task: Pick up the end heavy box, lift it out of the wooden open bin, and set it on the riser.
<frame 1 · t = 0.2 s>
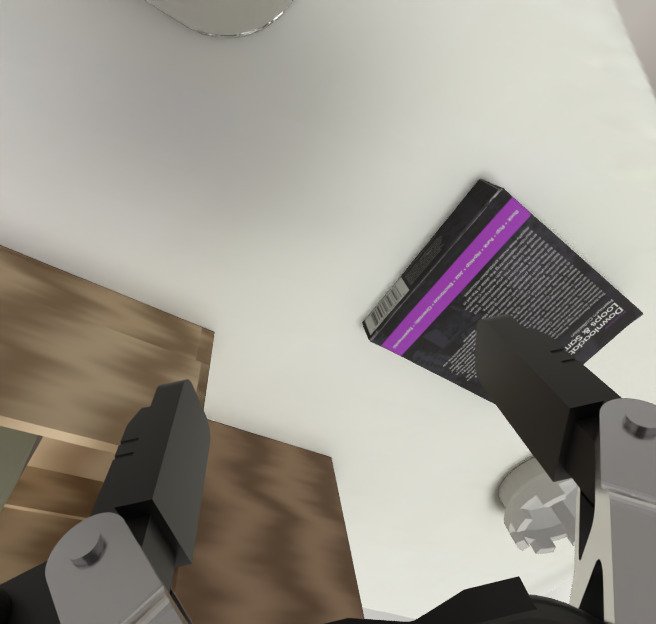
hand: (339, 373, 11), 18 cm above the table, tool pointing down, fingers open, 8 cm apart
flag stand: (539, 479, 49), on the table
wooden open bin: (30, 379, 30), on the table
riser: (236, 483, 40), on the table
box: (492, 306, 34), on the table
end heavy box: (27, 384, 29), resting on wooden open bin
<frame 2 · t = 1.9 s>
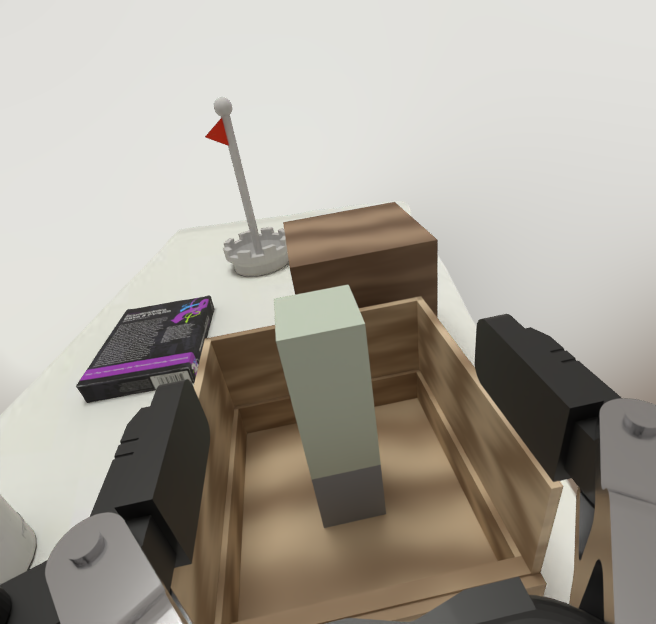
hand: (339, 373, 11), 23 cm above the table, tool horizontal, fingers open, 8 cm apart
flag stand: (262, 265, 80), on the table
wooden open bin: (349, 496, 33), on the table
riser: (364, 348, 50), on the table
box: (161, 352, 58), on the table
end heavy box: (349, 492, 33), resting on wooden open bin
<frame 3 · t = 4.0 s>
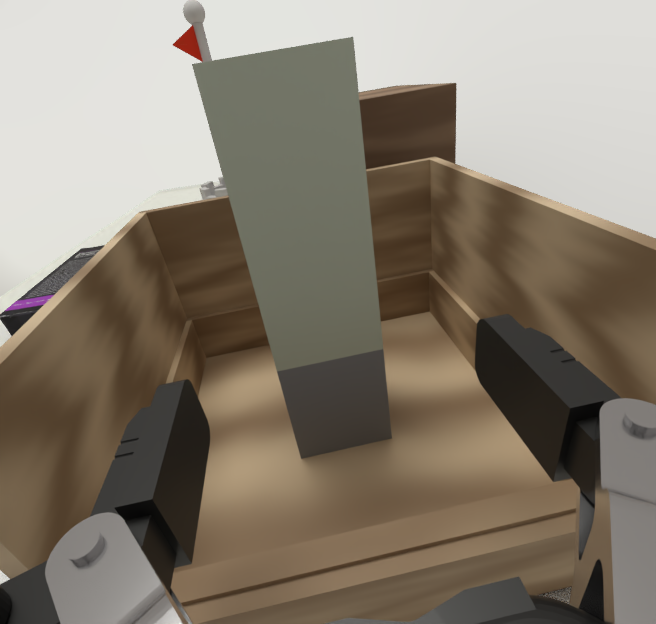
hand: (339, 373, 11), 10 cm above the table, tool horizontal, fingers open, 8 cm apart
flag stand: (245, 211, 70), on the table
wooden open bin: (340, 421, 23), on the table
riser: (360, 271, 41), on the table
box: (117, 290, 48), on the table
end heavy box: (338, 415, 23), resting on wooden open bin
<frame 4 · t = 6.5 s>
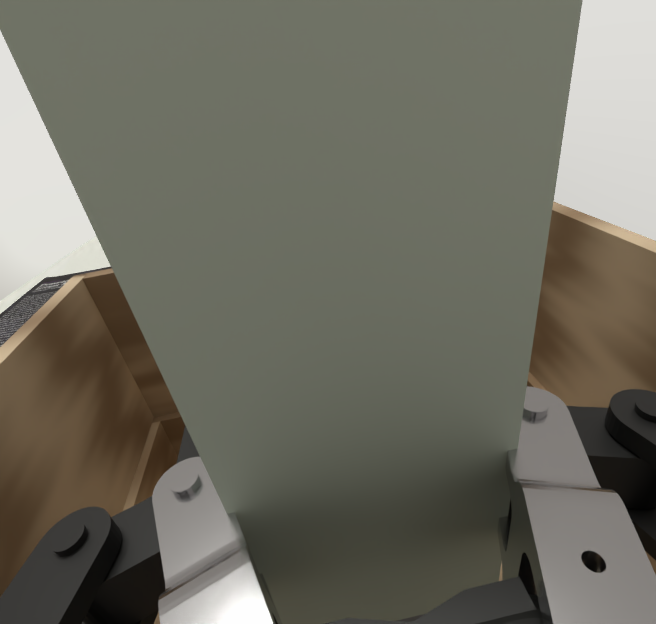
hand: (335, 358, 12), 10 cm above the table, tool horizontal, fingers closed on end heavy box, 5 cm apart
wooden open bin: (385, 622, 15), on the table
box: (83, 334, 40), on the table
end heavy box: (384, 615, 14), resting on wooden open bin, touching gripper
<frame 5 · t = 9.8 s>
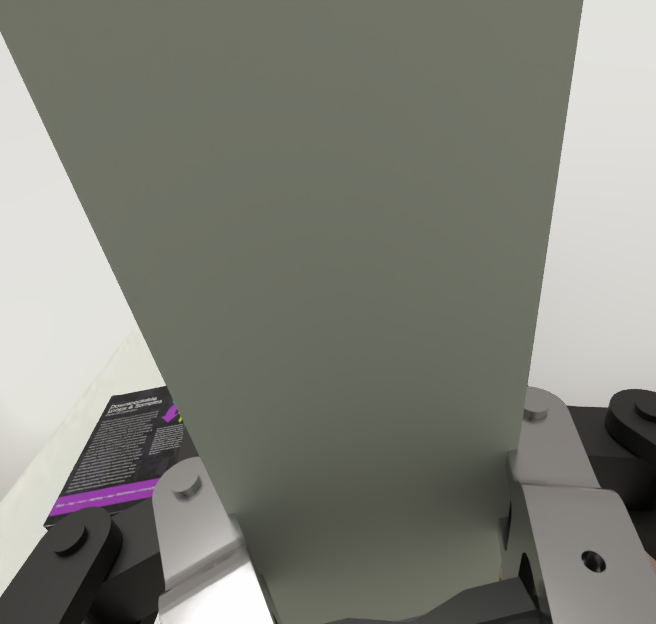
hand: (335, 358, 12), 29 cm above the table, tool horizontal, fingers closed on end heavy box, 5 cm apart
box: (151, 456, 49), on the table
end heavy box: (384, 616, 14), point 19 cm above the table, touching gripper
when the fingers open (27 cm above the table, at t = 13.4 s): end heavy box stays where it is, resting on riser.
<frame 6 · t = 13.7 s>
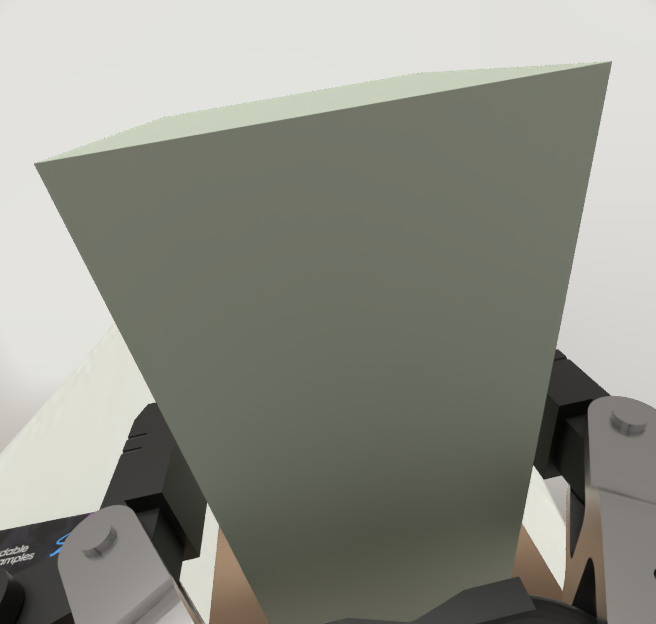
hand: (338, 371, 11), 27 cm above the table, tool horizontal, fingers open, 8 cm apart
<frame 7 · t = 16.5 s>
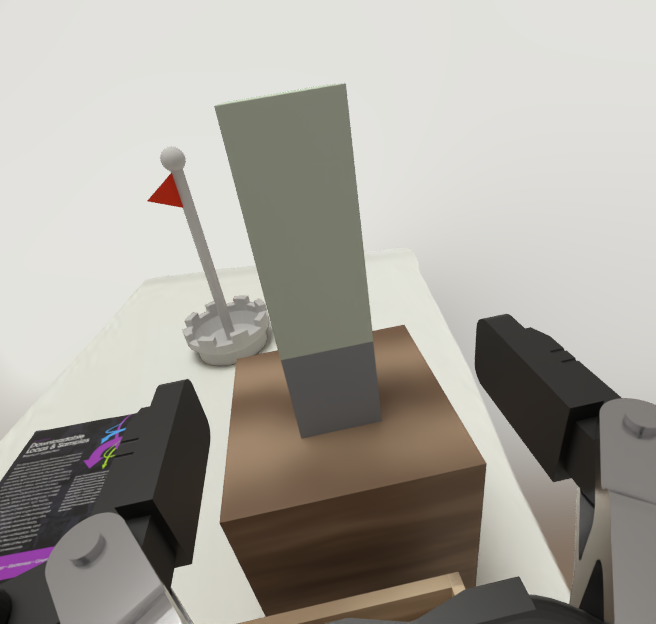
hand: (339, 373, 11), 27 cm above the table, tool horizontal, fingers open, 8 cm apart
flag stand: (234, 345, 64), on the table
riser: (359, 535, 34), on the table
box: (70, 507, 42), on the table
end heavy box: (335, 401, 26), point 16 cm above the table, touching riser
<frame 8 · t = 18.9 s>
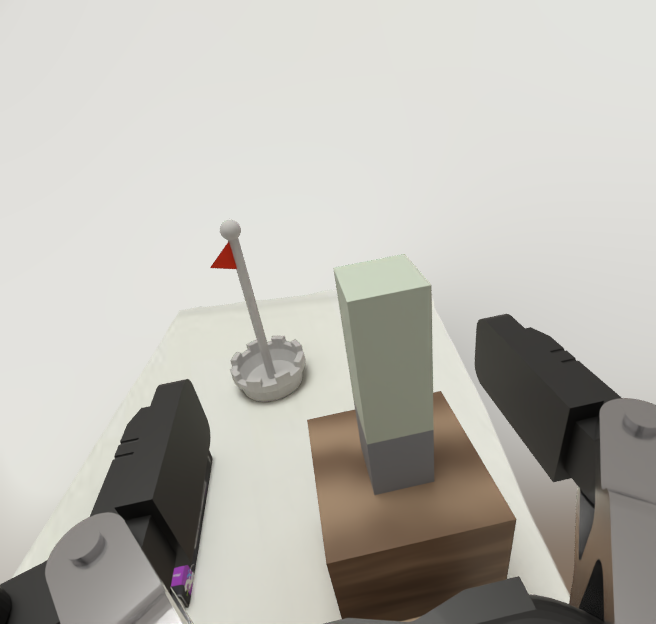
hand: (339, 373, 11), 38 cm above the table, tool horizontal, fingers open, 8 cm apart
flag stand: (273, 381, 71), on the table
riser: (403, 559, 42), on the table
box: (151, 534, 50), on the table
end heavy box: (395, 463, 34), point 16 cm above the table, touching riser
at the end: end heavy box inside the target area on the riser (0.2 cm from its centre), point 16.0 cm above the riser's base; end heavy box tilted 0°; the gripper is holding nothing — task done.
